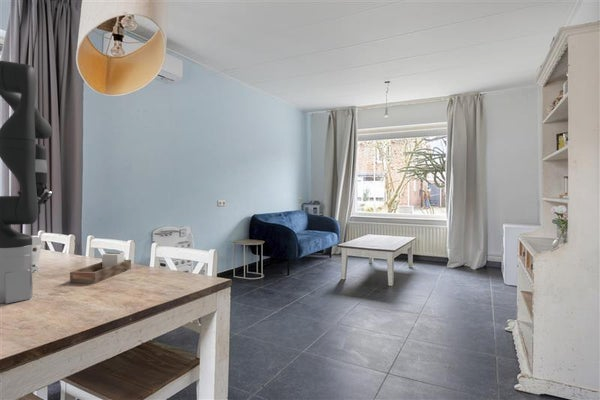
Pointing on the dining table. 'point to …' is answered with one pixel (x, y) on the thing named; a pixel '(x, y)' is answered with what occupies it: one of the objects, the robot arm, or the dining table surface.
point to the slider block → (112, 259)
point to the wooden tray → (98, 272)
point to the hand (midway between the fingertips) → (35, 214)
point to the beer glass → (35, 252)
